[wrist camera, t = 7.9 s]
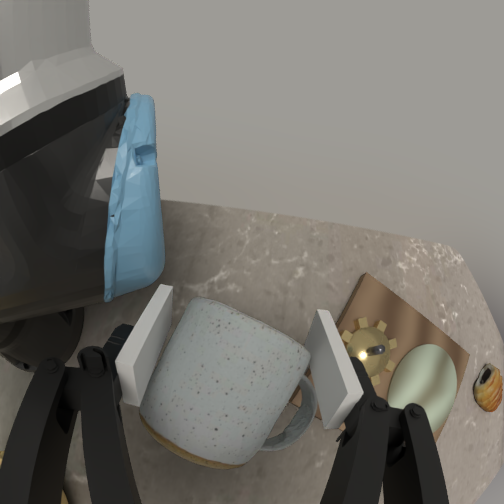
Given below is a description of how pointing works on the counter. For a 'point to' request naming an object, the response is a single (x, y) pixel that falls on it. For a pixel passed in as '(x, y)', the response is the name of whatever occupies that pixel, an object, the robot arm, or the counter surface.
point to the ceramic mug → (226, 387)
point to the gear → (370, 347)
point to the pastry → (489, 388)
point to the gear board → (406, 354)
